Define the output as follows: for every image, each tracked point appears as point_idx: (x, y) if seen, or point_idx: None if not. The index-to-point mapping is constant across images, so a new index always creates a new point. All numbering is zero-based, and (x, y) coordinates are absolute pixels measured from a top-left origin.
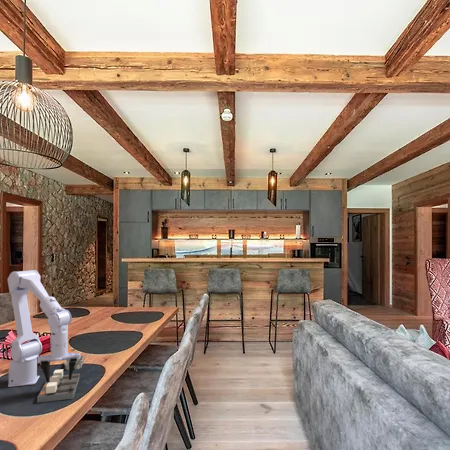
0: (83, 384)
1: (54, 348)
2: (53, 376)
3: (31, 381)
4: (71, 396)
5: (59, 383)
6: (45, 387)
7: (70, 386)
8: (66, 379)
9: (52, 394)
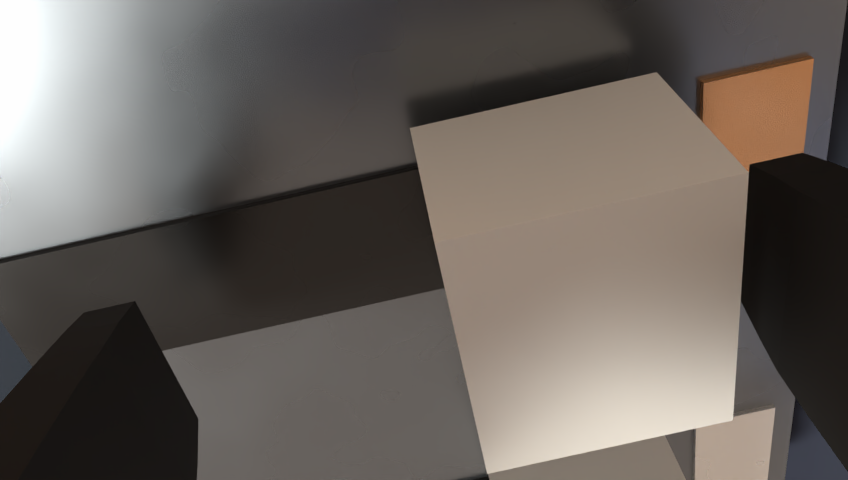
0: (5, 386)
1: None
2: (674, 399)
3: None
4: None
5: None
6: (762, 56)
7: (13, 85)
8: (376, 457)
9: None
